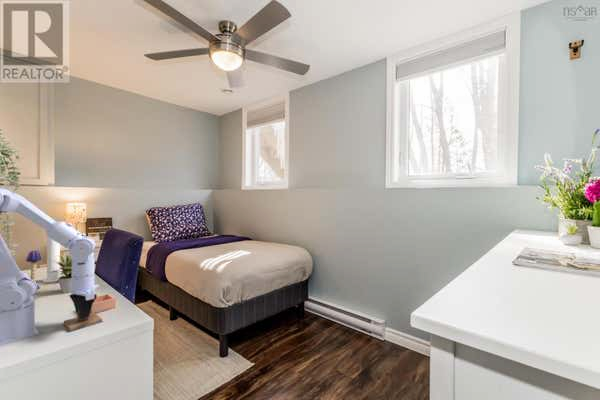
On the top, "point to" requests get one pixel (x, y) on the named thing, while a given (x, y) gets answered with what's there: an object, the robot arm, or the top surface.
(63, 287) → the house plant
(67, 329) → the mat
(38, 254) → the toy lamp
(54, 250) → the candle
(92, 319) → the lid
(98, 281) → the top surface
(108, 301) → the open box
